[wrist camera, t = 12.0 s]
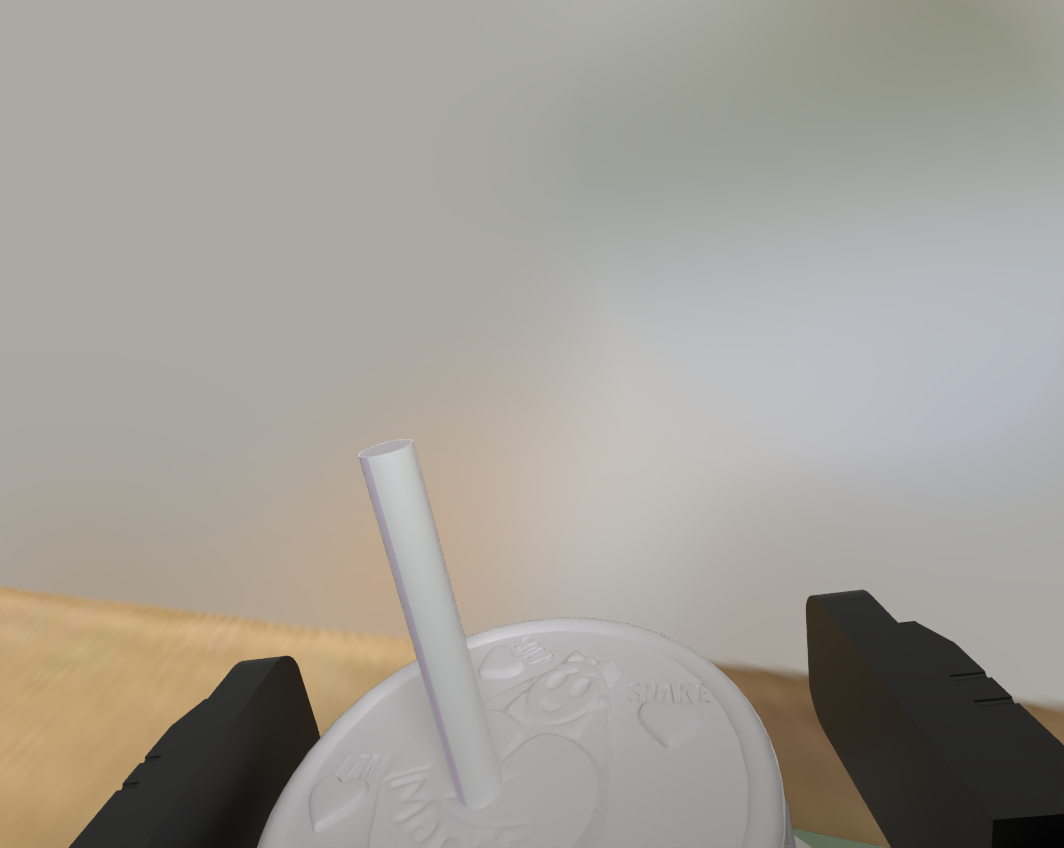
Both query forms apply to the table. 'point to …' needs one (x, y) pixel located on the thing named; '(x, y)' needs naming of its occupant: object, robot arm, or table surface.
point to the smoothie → (528, 728)
